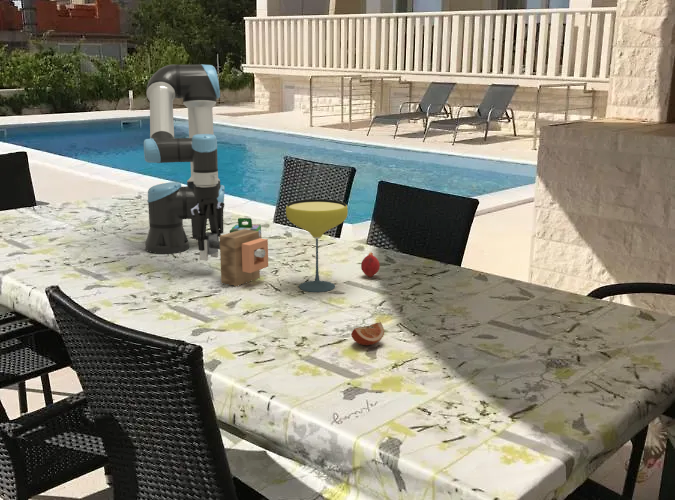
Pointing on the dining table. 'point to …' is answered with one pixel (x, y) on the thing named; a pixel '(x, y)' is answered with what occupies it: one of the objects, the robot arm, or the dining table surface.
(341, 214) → the cocktail glass
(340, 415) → the dining table surface
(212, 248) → the shaft
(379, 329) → the fruit slice
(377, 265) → the onion
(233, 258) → the bearing block
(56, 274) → the dining table surface
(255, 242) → the orange boxy part
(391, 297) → the dining table surface
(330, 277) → the dining table surface
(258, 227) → the chalk box
